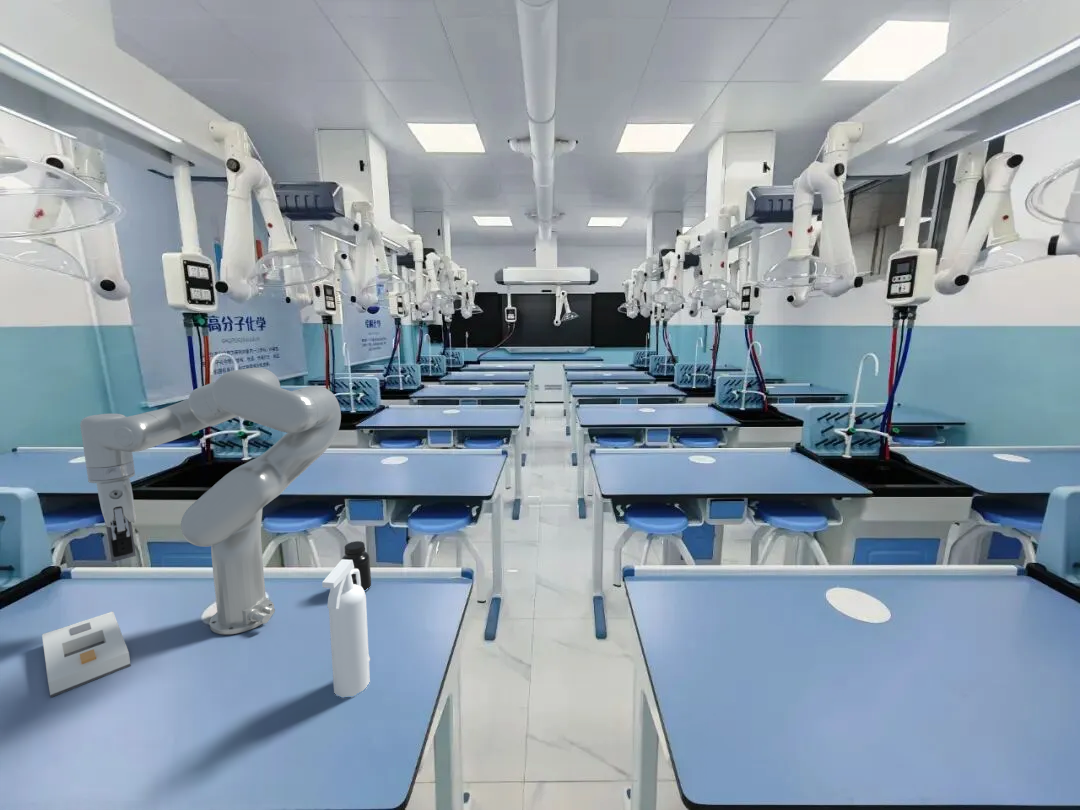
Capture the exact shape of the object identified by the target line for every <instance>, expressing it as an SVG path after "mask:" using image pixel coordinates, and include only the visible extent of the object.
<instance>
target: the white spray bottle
mask: <svg viewBox="0 0 1080 810" xmlns="http://www.w3.org/2000/svg"><path fill="white" fill-rule="evenodd" d="M353 568H354V564H353V560H345V559H342V558H341V560H340V561H339V562H338V563H337V564H336V566H335V567H334V568H333V569H332V570H331V571H330V573H329V574H328V575H327V576H326V577H325V579H324V580H323V581H322V582H321V583H322V584H321V585H322V588H323V589H330V590H329V594H328V598H327V605H326V606H327V608H326V609H328V615H329V617H328V618H329V630H330V631H329V632H330V633H329V634H330V649H331V650H330V651H331V664H332V665H331V668H332V679H333V680H332V681H333V683H332V684H333V694H334V693H335V694H337V695H339V696H341V697H345V696H346V697H347V696H354V695H356V694H357V693H359V692H361V691H363V690H364V689H365V688H366V687H367V685H368V684H369V682H370V683H371V679H370V678H371V675H370V662H371V657H370V655H369V654H370V652H369V636H368V635H369V633H368V615H367V614H368V613H367V612H368V611H367V596H366V592H365V591H364V590H363V588H362V586H361V580H360V572H359V570H358V569H353ZM352 574H356V580H357V585H356V584H353V581H352V576H351V575H352ZM369 685H370V684H369ZM367 688H368V687H367ZM367 688H366V689H367ZM335 694H334V695H335ZM337 695H336V696H337Z"/></svg>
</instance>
